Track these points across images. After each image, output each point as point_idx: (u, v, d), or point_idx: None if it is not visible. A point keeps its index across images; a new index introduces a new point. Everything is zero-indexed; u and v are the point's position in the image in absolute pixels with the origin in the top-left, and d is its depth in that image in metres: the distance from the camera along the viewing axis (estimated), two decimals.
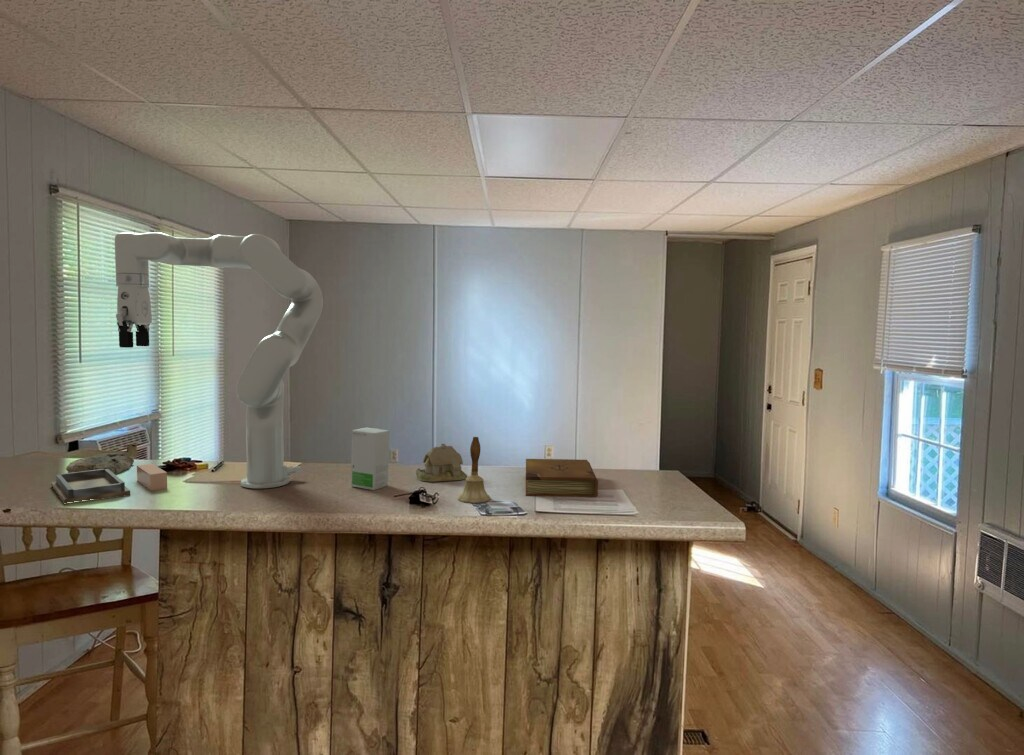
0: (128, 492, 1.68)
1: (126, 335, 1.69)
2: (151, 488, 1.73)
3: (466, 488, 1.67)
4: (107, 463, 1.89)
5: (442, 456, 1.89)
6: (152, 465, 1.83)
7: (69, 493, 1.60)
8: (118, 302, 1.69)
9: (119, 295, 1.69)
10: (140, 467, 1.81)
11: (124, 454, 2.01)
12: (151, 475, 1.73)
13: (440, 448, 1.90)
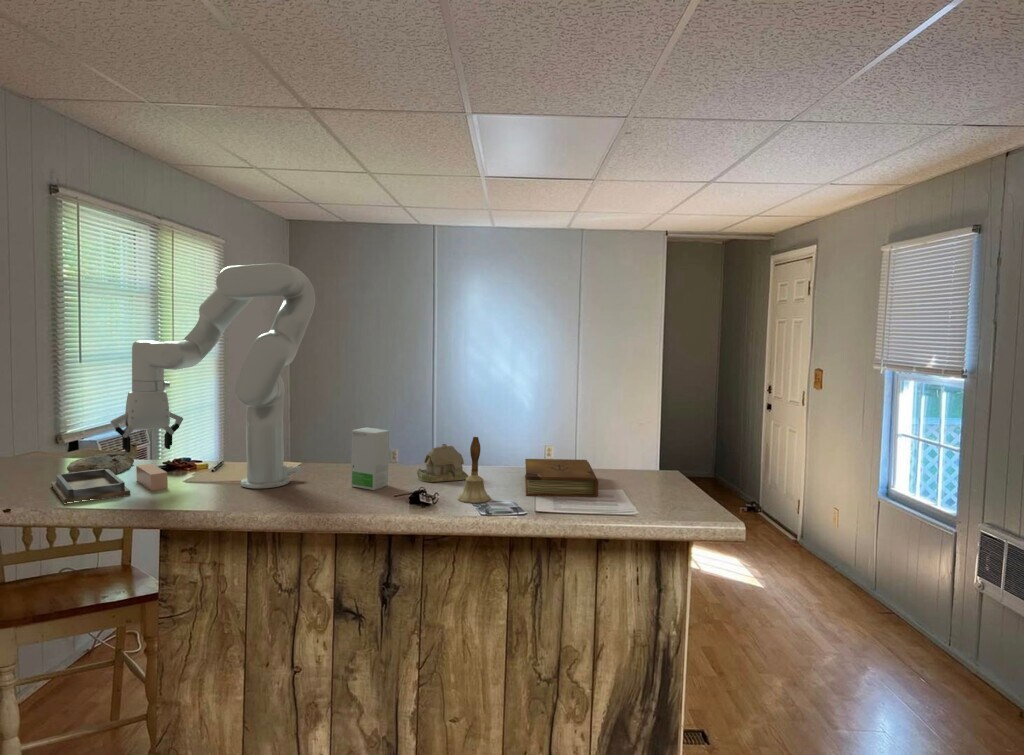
0: (128, 492, 1.68)
1: None
2: (152, 488, 1.73)
3: (466, 488, 1.67)
4: (108, 463, 1.90)
5: (443, 456, 1.88)
6: (152, 465, 1.83)
7: (69, 493, 1.60)
8: (168, 407, 1.80)
9: None
10: (140, 467, 1.81)
11: (124, 454, 2.01)
12: (152, 475, 1.73)
13: (441, 448, 1.90)
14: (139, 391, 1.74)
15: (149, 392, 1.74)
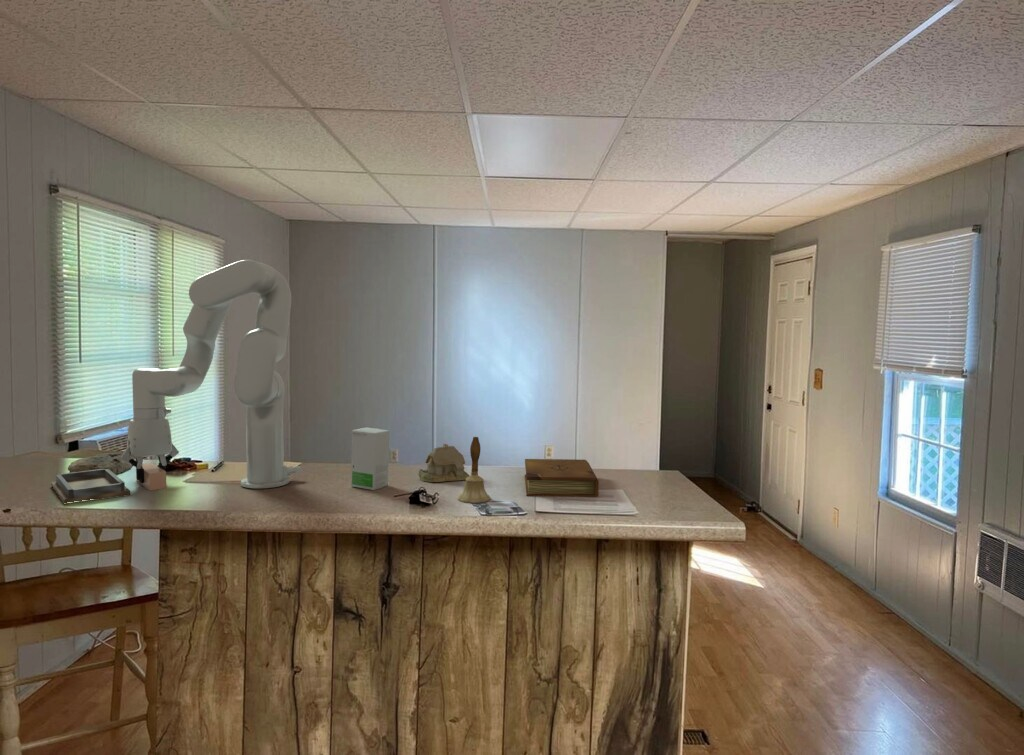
0: (128, 492, 1.68)
1: None
2: (150, 487, 1.73)
3: (466, 488, 1.67)
4: (109, 463, 1.90)
5: (445, 456, 1.88)
6: (151, 464, 1.83)
7: (69, 493, 1.60)
8: (170, 434, 1.80)
9: (169, 427, 1.80)
10: None
11: None
12: (150, 474, 1.73)
13: (443, 448, 1.90)
14: (141, 419, 1.74)
15: (150, 420, 1.75)
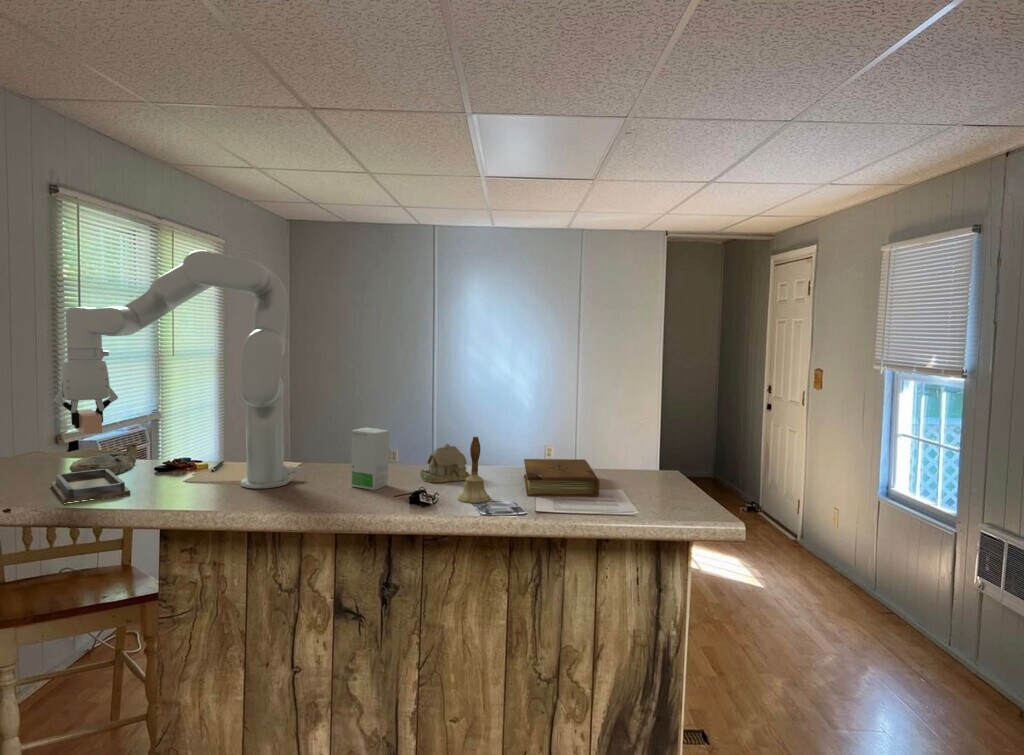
0: (128, 492, 1.68)
1: None
2: (84, 431, 1.64)
3: (466, 488, 1.67)
4: (111, 463, 1.90)
5: (447, 457, 1.88)
6: (89, 410, 1.75)
7: (69, 493, 1.60)
8: (108, 377, 1.71)
9: (107, 370, 1.71)
10: None
11: (126, 454, 2.01)
12: (84, 417, 1.64)
13: (445, 448, 1.89)
14: (74, 359, 1.65)
15: (85, 360, 1.66)
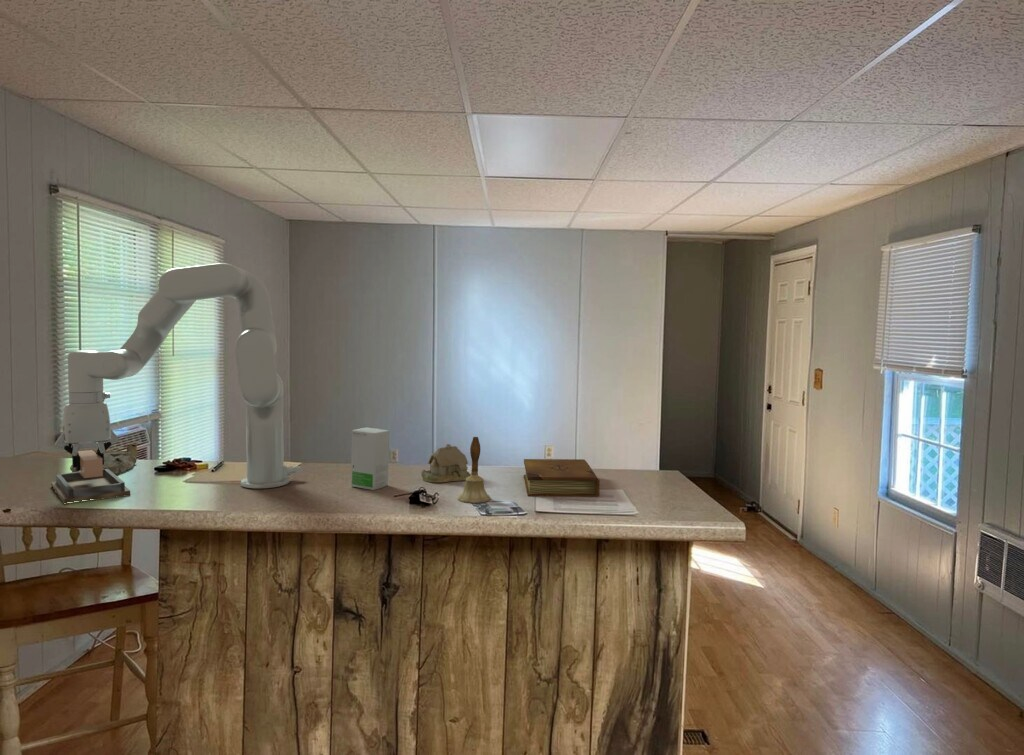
0: (128, 492, 1.68)
1: None
2: (85, 475, 1.65)
3: (466, 488, 1.67)
4: (112, 462, 1.90)
5: (448, 457, 1.88)
6: (90, 451, 1.75)
7: (69, 493, 1.60)
8: (109, 419, 1.72)
9: (108, 412, 1.72)
10: None
11: (127, 453, 2.02)
12: (85, 461, 1.65)
13: (446, 449, 1.89)
14: (76, 403, 1.66)
15: (86, 404, 1.67)
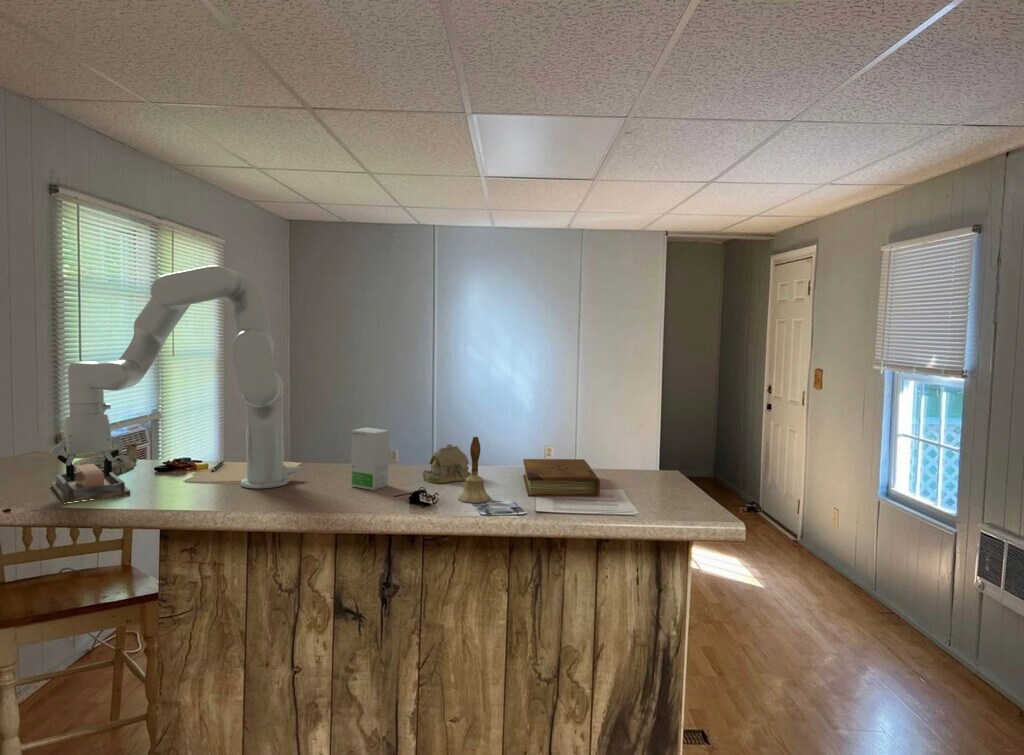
0: (128, 492, 1.68)
1: None
2: None
3: (466, 488, 1.67)
4: (113, 462, 1.90)
5: (450, 457, 1.88)
6: (92, 465, 1.76)
7: (69, 493, 1.60)
8: (110, 430, 1.72)
9: None
10: (78, 467, 1.73)
11: (127, 453, 2.02)
12: (86, 476, 1.65)
13: (447, 449, 1.89)
14: (76, 415, 1.66)
15: (87, 415, 1.67)
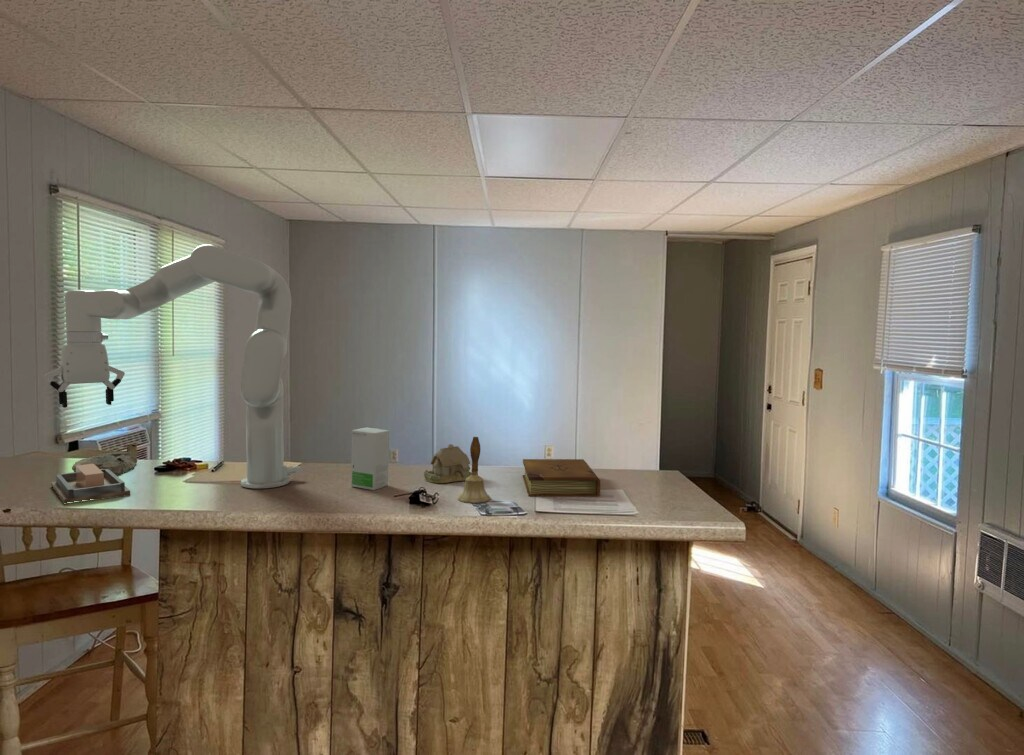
0: (128, 492, 1.68)
1: None
2: None
3: (466, 488, 1.67)
4: (114, 462, 1.90)
5: (451, 457, 1.88)
6: (92, 465, 1.76)
7: (69, 493, 1.60)
8: None
9: (106, 354, 1.71)
10: (78, 467, 1.73)
11: (128, 453, 2.02)
12: (86, 476, 1.65)
13: (448, 449, 1.89)
14: (74, 342, 1.65)
15: (84, 343, 1.66)
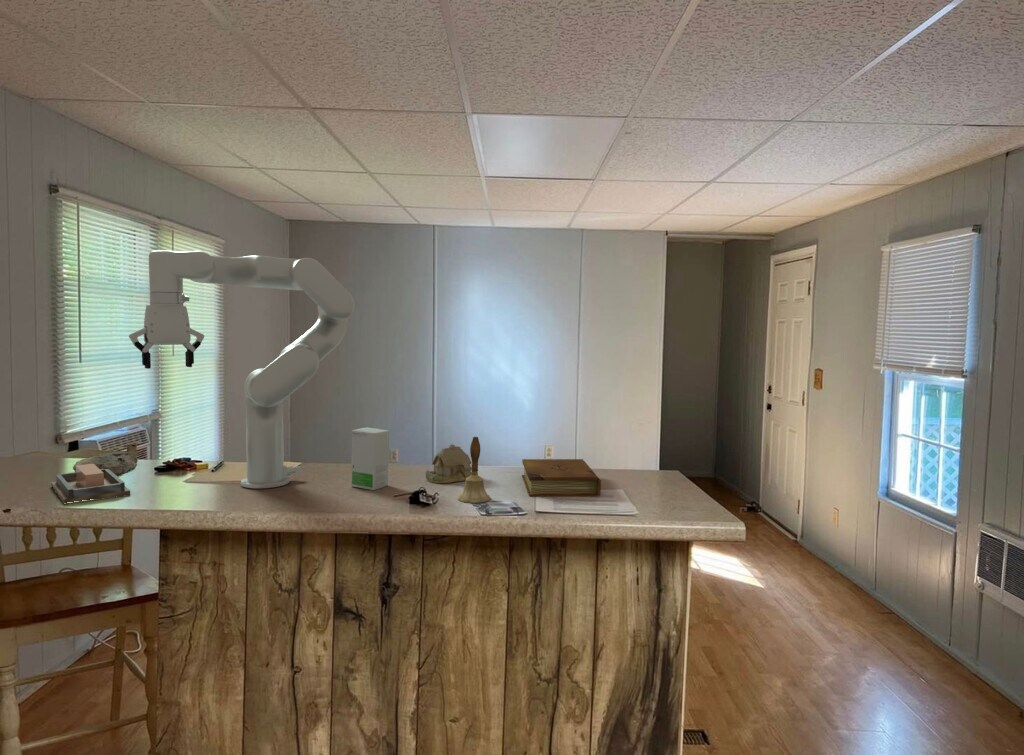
0: (128, 492, 1.68)
1: None
2: None
3: (466, 488, 1.67)
4: (115, 462, 1.91)
5: (453, 457, 1.88)
6: (92, 465, 1.76)
7: (69, 493, 1.60)
8: None
9: None
10: (78, 467, 1.73)
11: (128, 453, 2.02)
12: (86, 476, 1.65)
13: (450, 449, 1.89)
14: (158, 303, 1.64)
15: (168, 304, 1.65)
